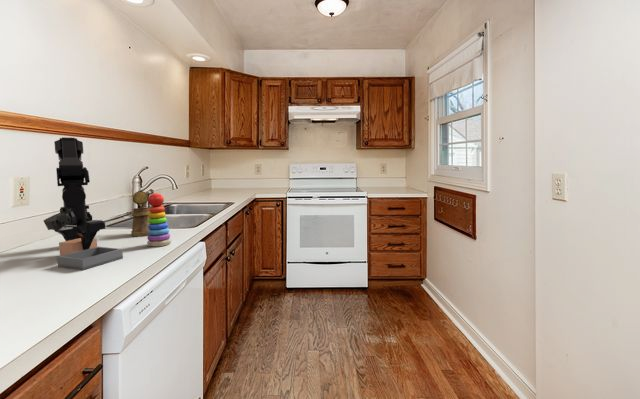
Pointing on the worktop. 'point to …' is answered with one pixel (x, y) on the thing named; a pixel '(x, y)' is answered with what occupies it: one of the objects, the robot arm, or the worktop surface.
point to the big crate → (89, 258)
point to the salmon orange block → (74, 246)
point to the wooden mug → (140, 215)
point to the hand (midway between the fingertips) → (79, 250)
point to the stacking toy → (157, 222)
